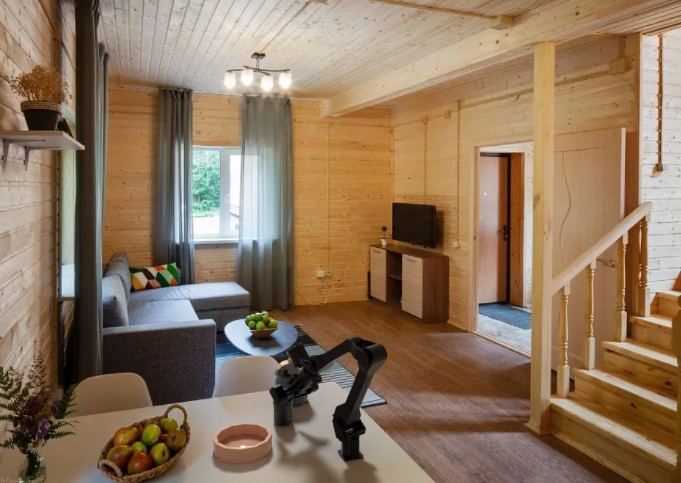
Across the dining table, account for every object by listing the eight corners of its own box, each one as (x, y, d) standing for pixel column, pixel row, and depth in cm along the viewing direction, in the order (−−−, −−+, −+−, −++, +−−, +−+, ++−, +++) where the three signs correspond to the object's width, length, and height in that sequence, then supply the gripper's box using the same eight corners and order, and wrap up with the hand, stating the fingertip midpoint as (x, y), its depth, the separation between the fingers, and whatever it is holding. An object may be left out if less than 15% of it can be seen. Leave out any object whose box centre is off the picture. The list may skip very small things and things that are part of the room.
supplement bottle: (269, 424, 190) (269, 391, 189) (280, 417, 196) (280, 385, 195) (286, 428, 187) (285, 395, 186) (296, 420, 193) (296, 388, 192)
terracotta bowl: (276, 456, 167) (276, 443, 167) (218, 467, 161) (218, 453, 160) (264, 432, 184) (264, 419, 183) (211, 440, 178) (210, 427, 177)
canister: (270, 397, 214) (270, 354, 212) (301, 392, 220) (300, 350, 218) (281, 409, 202) (280, 364, 201) (312, 404, 208) (312, 360, 206)
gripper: (313, 352, 191) (293, 374, 200) (272, 364, 178) (252, 387, 187) (328, 379, 187) (307, 400, 195) (287, 394, 173) (266, 416, 182)
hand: (283, 400), depth 190 cm, fingers open, 9 cm apart
